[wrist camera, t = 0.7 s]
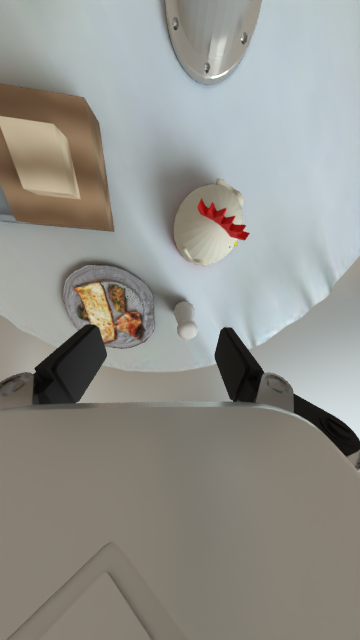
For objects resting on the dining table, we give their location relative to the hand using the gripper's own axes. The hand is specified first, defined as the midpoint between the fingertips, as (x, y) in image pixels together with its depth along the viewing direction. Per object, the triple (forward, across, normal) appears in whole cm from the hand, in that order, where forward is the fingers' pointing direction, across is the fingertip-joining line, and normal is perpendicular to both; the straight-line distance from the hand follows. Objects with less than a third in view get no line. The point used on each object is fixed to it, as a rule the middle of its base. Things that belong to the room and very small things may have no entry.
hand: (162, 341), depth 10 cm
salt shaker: (+27, -4, +9) cm, 28 cm away
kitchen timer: (+27, -8, -10) cm, 30 cm away
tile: (+23, +19, -17) cm, 34 cm away
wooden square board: (+27, +20, -17) cm, 38 cm away
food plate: (+27, +16, +10) cm, 33 cm away
